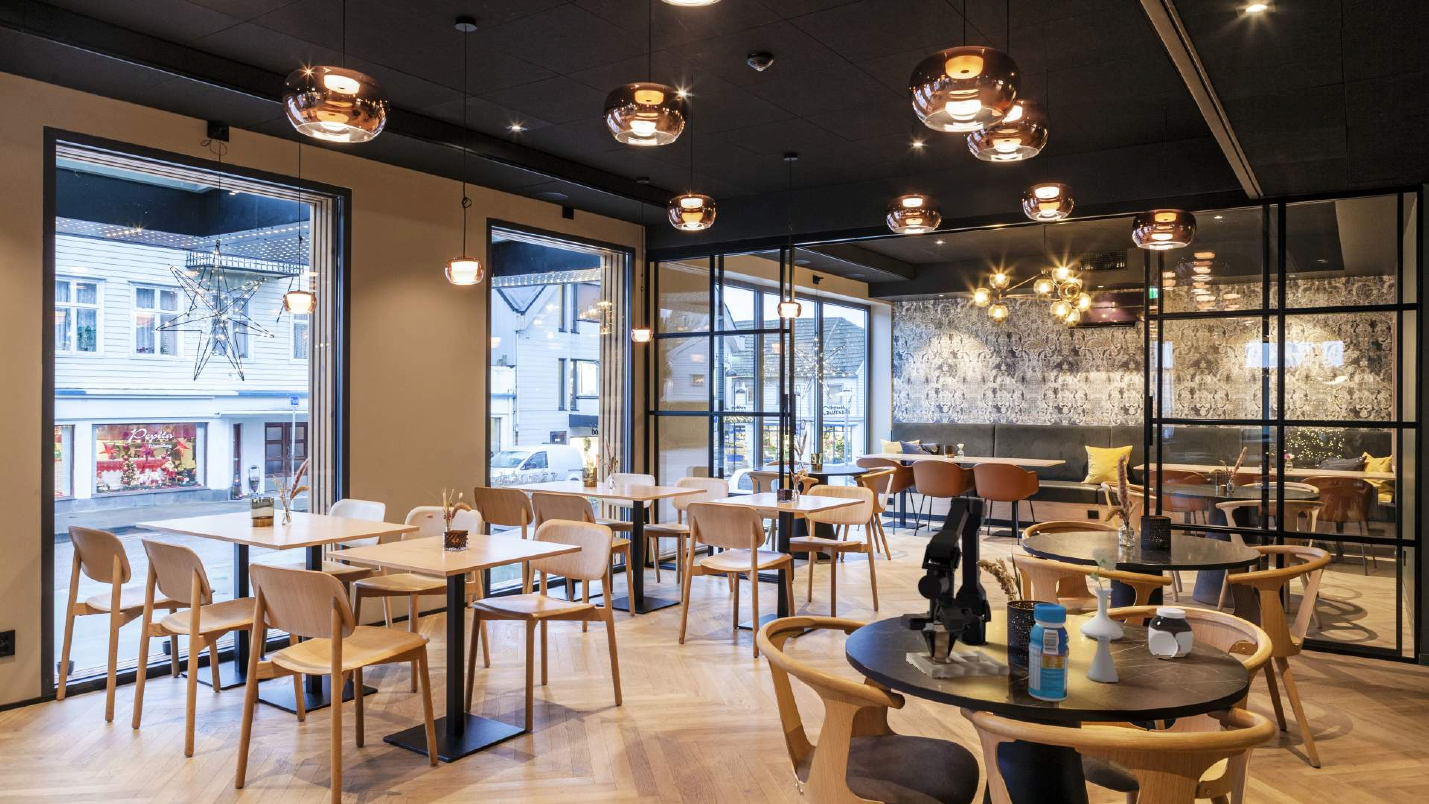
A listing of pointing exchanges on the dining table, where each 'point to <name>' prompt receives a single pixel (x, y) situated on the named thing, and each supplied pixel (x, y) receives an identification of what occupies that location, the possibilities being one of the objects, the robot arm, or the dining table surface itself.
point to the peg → (941, 646)
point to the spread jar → (1170, 632)
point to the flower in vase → (1102, 602)
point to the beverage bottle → (1048, 653)
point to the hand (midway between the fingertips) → (940, 656)
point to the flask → (1103, 663)
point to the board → (959, 664)
